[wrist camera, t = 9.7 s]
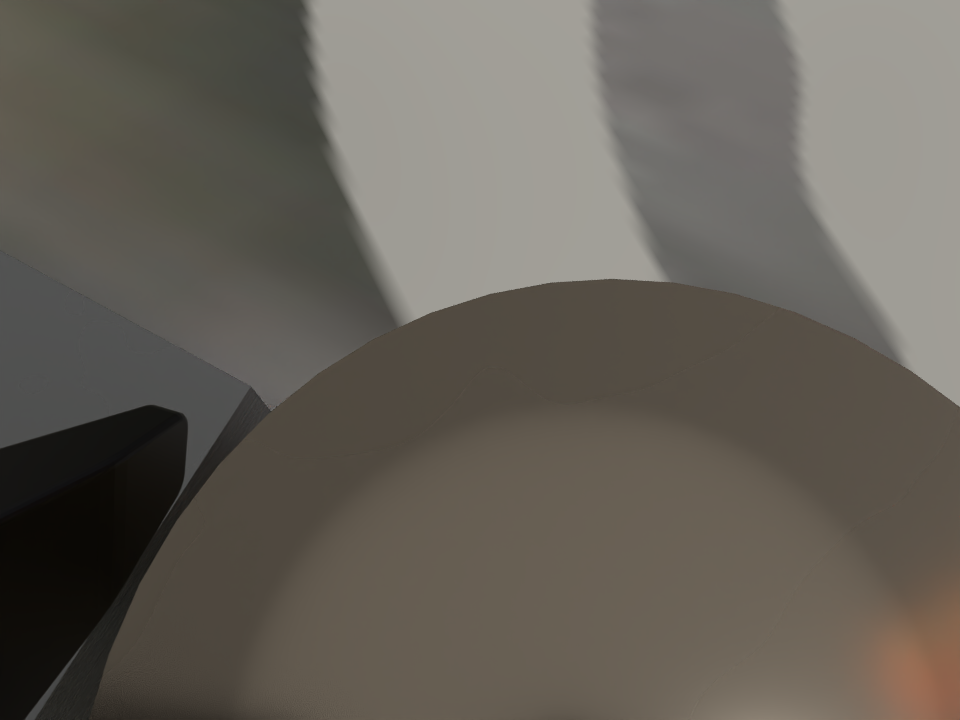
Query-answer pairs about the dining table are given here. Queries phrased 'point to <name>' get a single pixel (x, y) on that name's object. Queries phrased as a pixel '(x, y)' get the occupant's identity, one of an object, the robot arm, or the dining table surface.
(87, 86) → the dining table surface
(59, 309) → the bore housing
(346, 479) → the brass plug
